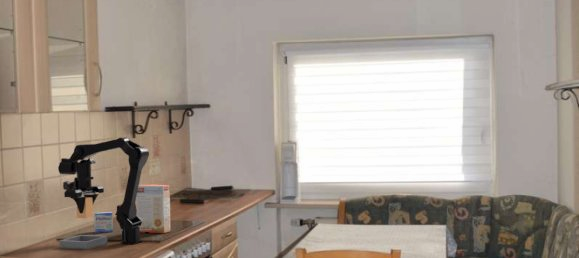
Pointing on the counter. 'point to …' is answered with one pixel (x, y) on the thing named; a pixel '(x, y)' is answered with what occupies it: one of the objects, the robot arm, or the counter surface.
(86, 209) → the plain tan block
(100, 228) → the medicine box
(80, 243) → the block holder
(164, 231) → the cracker box
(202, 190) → the counter surface
